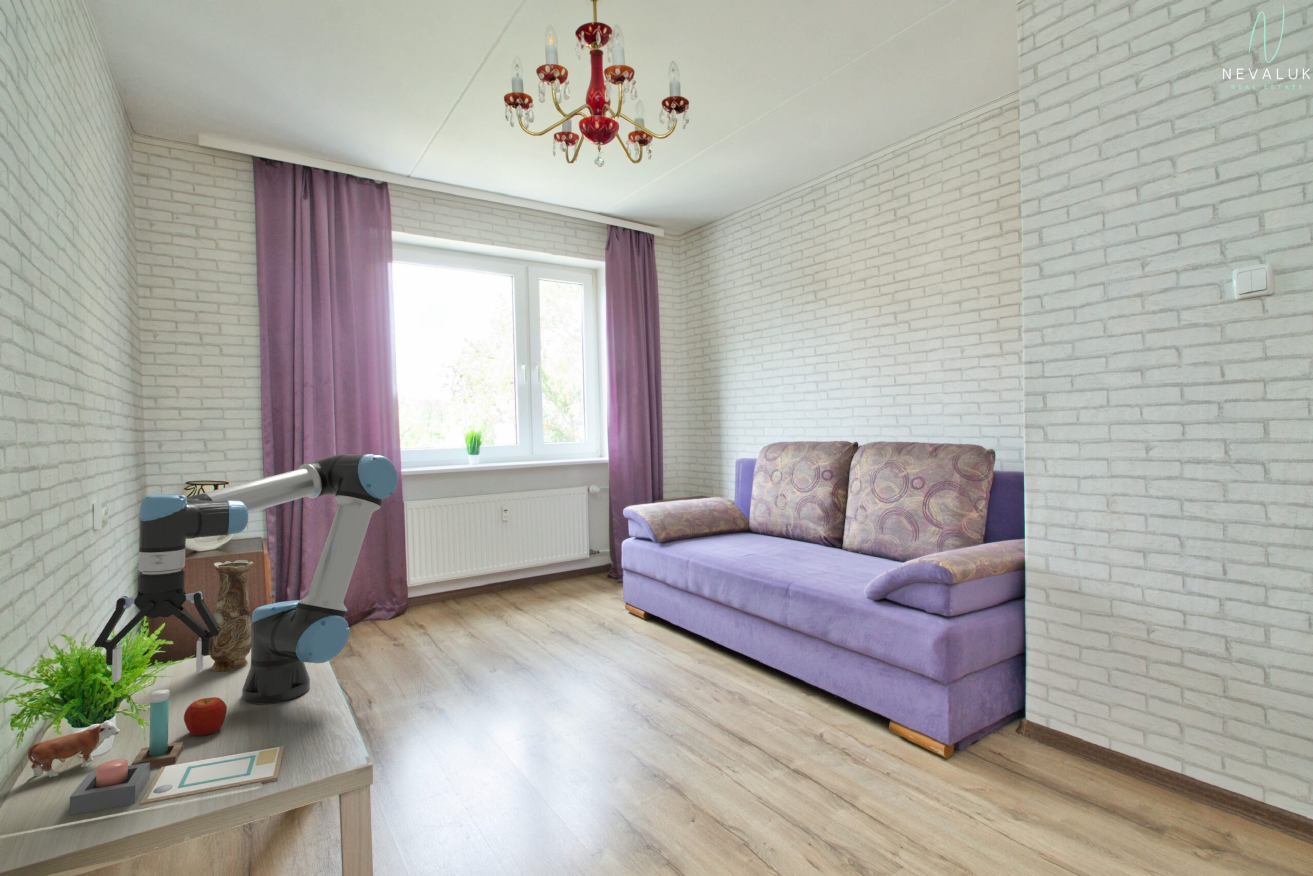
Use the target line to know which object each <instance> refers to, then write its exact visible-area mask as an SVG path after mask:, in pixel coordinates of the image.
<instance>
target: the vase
mask: <svg viewBox="0 0 1313 876" xmlns="http://www.w3.org/2000/svg"><path fill="white" fill-rule="evenodd" d="M253 565H254V562H253V561H252V560H251V561H248V560H247V559H238V560H237V559H236V560H235V561H232V562H231V561H229V560H227V561H225V562H214V563H213V567H214V569H215V570H216V572H217V573H218V577H219V579H218V581H219V582H218V591H217V597H216V602H215V607H214V613H213V617H214V619H215V620H216V622H217V624H218V625H219V627H220V629H221V631H220V632H219V634H218V635H217V636H213V637H211V638H210V651H209V653H208V654H209V656H210V658H211V660H212V661H214V662H213V665H212V666H211V670H212V671H215V672H229V671H234V670H238V669H241V668H245V667H246V666H247V665H248V664H249V663H248V661H247V656H248V655H249V654H250V653H251V620H252V616H251V611H250V602H249V601H250V600H249V590H248V573H249V571H250V569H251V568H252V566H253Z"/></svg>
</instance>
